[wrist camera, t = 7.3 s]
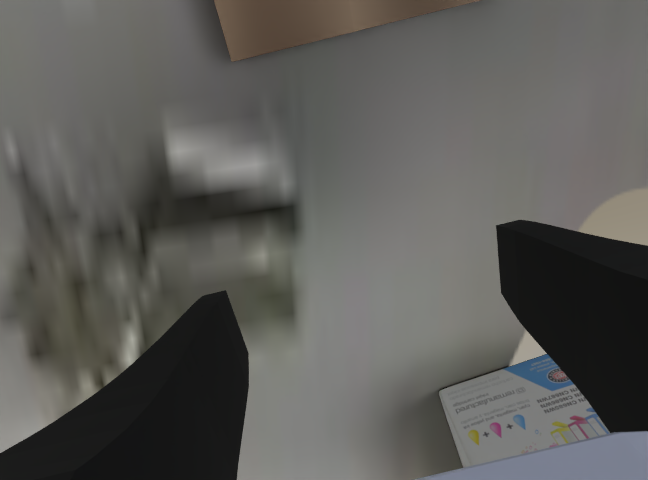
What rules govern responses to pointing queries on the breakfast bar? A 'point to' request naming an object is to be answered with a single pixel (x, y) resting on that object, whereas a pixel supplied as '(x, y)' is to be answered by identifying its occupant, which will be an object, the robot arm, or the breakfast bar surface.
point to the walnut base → (309, 20)
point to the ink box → (517, 412)
